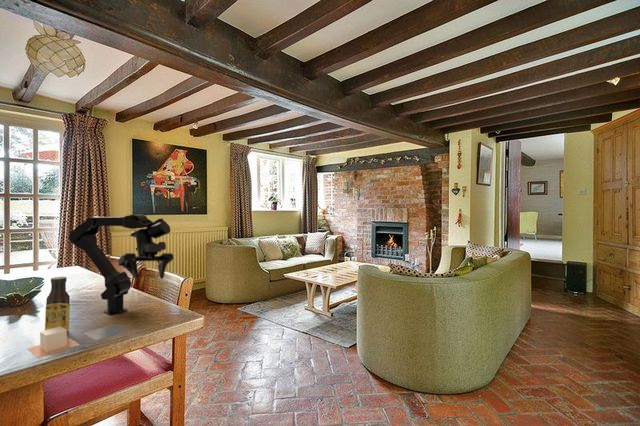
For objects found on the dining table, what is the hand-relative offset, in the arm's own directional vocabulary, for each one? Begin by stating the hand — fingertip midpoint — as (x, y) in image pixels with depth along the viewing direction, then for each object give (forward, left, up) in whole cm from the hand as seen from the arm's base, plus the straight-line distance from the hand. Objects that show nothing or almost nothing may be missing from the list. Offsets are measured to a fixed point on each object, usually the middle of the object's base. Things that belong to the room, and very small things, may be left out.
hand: (150, 279), depth 119 cm
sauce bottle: (-11, -25, -16) cm, 32 cm away
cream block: (-1, -29, -15) cm, 33 cm away
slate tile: (0, -15, -16) cm, 22 cm away
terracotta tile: (-1, -29, -16) cm, 33 cm away
